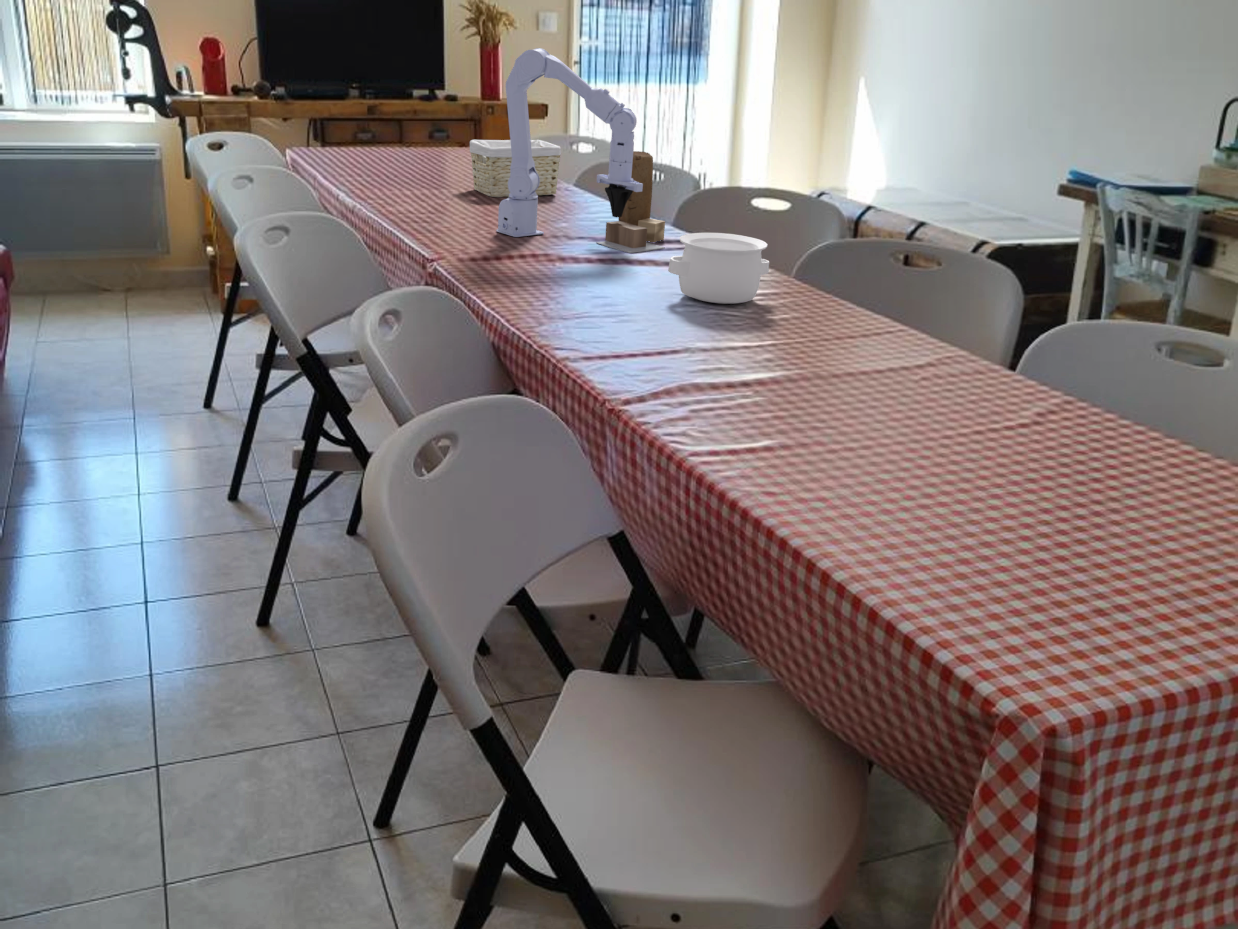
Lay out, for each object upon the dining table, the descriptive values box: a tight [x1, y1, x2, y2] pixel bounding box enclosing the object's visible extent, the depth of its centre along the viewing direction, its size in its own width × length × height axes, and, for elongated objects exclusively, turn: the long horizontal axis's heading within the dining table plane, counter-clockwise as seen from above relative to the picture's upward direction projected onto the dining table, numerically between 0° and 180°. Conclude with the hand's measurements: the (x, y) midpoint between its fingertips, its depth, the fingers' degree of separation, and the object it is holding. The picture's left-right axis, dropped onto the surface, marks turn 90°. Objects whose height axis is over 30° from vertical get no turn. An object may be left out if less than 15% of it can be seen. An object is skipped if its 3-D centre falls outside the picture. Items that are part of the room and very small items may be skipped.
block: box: [618, 150, 654, 226], centre depth 300 cm, size 11×8×20 cm
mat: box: [596, 240, 665, 254], centre depth 284 cm, size 12×12×1 cm
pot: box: [667, 232, 770, 305], centre depth 238 cm, size 22×17×12 cm
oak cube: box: [638, 217, 666, 243], centre depth 292 cm, size 5×5×5 cm
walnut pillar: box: [604, 220, 647, 248], centre depth 284 cm, size 4×4×10 cm
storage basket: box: [469, 139, 562, 198], centre depth 342 cm, size 24×16×15 cm
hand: (617, 216), depth 285 cm, fingers closed
